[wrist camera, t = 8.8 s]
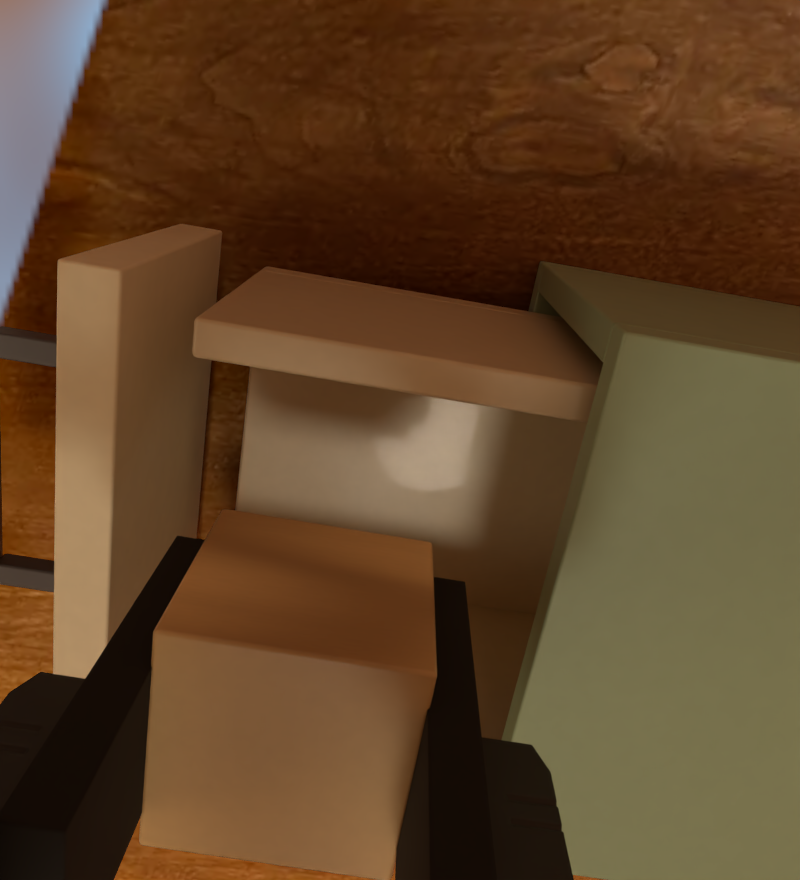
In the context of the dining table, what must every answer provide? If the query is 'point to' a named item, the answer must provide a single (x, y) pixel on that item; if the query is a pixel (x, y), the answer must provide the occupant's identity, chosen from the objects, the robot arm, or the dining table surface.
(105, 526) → the drawer
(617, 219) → the dining table surface
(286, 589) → the block
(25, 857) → the robot arm
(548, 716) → the cabinet
